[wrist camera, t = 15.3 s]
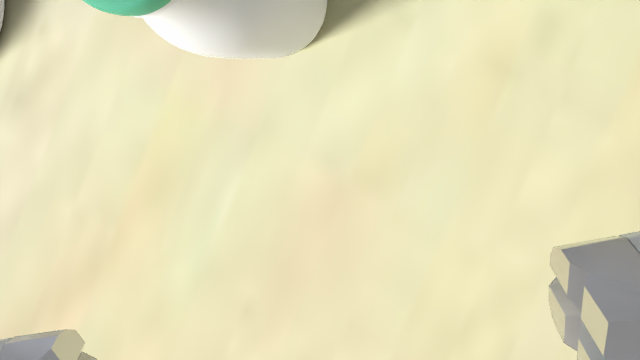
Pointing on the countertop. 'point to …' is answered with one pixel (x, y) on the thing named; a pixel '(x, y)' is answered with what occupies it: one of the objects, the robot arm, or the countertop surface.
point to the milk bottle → (228, 24)
